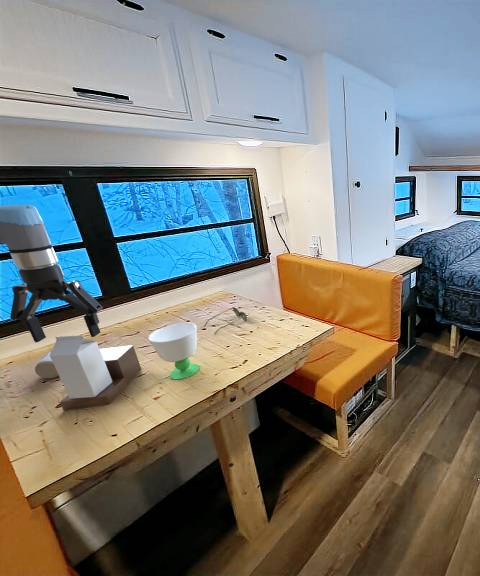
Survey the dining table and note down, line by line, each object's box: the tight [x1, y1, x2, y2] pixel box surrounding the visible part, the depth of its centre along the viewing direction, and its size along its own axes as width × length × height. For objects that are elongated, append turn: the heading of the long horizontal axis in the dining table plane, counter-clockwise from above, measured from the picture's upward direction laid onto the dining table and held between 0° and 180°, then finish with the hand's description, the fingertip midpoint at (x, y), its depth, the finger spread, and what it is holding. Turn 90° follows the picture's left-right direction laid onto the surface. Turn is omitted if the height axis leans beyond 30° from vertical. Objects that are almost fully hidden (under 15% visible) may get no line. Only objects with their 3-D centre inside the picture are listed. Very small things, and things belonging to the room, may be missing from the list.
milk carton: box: [50, 334, 112, 399], centre depth 90 cm, size 7×7×19 cm
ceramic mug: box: [34, 350, 59, 379], centre depth 107 cm, size 11×8×8 cm
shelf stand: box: [59, 344, 142, 411], centre depth 97 cm, size 12×18×10 cm, turn 11°
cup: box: [148, 322, 201, 381], centre depth 104 cm, size 14×14×16 cm
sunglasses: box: [204, 306, 248, 335], centre depth 140 cm, size 14×15×5 cm
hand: (68, 337), depth 87 cm, fingers open, 13 cm apart
